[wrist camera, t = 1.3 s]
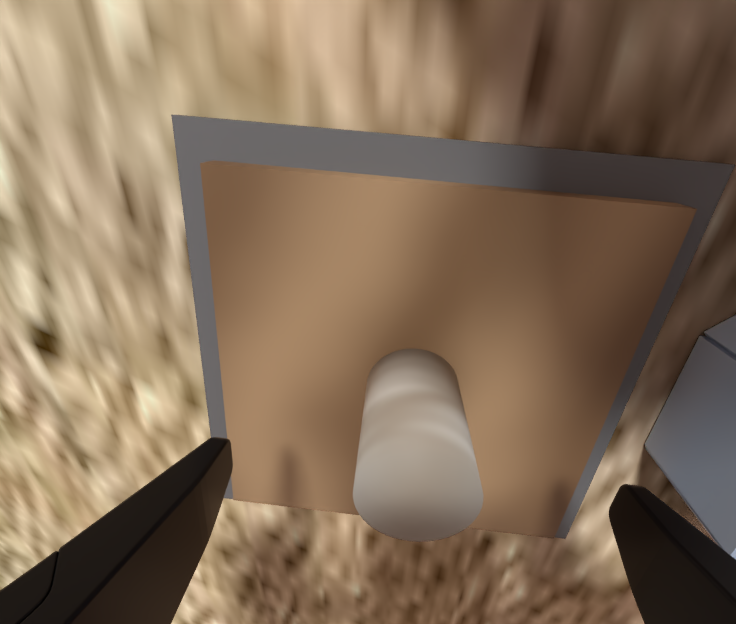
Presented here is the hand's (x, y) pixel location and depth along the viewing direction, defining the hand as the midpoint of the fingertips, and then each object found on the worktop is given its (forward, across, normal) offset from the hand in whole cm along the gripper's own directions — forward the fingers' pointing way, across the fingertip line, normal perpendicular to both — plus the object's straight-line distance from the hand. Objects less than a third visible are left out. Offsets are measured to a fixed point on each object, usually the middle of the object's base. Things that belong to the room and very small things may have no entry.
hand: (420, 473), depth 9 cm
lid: (+4, 0, 0) cm, 4 cm away
